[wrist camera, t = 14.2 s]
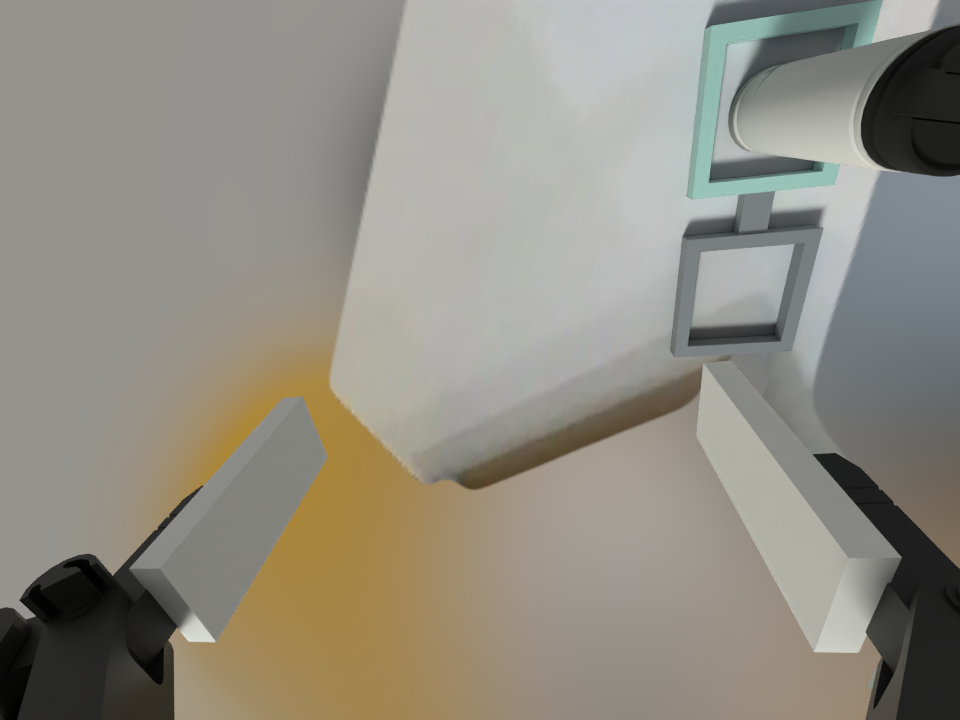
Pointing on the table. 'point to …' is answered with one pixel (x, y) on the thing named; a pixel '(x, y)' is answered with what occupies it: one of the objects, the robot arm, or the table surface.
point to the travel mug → (860, 106)
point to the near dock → (716, 37)
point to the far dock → (746, 235)
